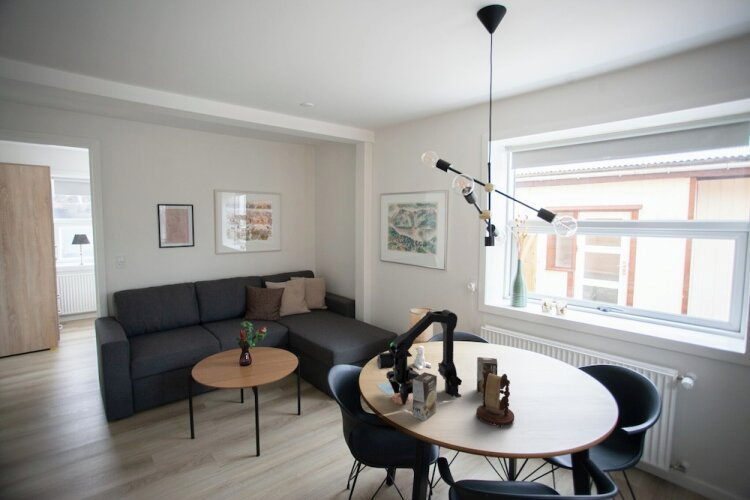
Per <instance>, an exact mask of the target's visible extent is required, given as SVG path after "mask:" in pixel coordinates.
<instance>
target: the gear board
mask: <svg viewBox="0 0 750 500" xmlns="http://www.w3.org/2000/svg"><path fill="white" fill-rule="evenodd" d="M376 386H378V387H379V389H380V390H381V391H382V392H383V394H385V395H386V396H393V395H394V394H395V393H394V391H393V389H392V386H391V384H390V382H389V381H388V382H382V383H376ZM400 386H401V384H400ZM399 390H400V389H399Z"/></svg>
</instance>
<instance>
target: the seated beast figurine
mask: <svg viewBox="0 0 750 500" xmlns="http://www.w3.org/2000/svg"><path fill="white" fill-rule="evenodd" d="M414 349H415V351H416V355H415V358H414V360H413V364H414V366H415V367H416V368H417V369H418V371H422V370H423V368H427V369H431V368H432V367H433V366H432V363H430V362H427V361H426V360H425V359H426V358H425V355H424V353H425V352H426V351H425V347H424V346H423V345H419V346H417V347H414Z"/></svg>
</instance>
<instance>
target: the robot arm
mask: <svg viewBox="0 0 750 500" xmlns="http://www.w3.org/2000/svg"><path fill="white" fill-rule="evenodd" d="M433 323H440V326H441V328H442V361H441V362H438V369H437V372H438V373H439V375H440V376H441V377H442V379H443V380H444V392H445V393H444V394H446V395H447V396H451V397H455V398H459V397H462V394H460V393H459V386H461V385H462V381H463V380H462V379H461V378H460V377H459V376H458V373H457V368H456V365H455V362H454V340H455V339H454V337H455V336H454V333H455V332H454V331H455V329H456V327H457V325H458V315H457V314H456V313H455V312H453V311H450V310H449V309H443V310H436V311H435V310H434V311H427V312H426V313H425V314H424V315H423V316H422V318H420V319H419V320H418V322H416V323H415V324H414V325H413V326H412V327H411V328H410V329H409V330H408V331H406V332H404V333H401V334H400V335H398V336H396V337H395V338H394V339H393V341H392V343H393V344H392V346H391V347H389V348H388V350H387V351H388V352H379V353H378V356H377V358H376V364H377V368H378V370H386V369H392V370H389V371H387V372H386V373H385V374H386V375H385V376H386V379H387V380H388V382H390V384H391V386H392V389H393V391H394V393H400V396H401V400H402V403H403V404H402V405H406V404H407V403H406V401H407V398H408V396H409V395H410V394H413V384H412V383H406V381H410V380H413V378H415V377H417V376H419V375H421V374H420V373H419V372H417V371H416V370H415V369H414V368H413V367H412V366H410V365H408V358H411V357H413V354H411V352H410V349H411V348H412V346H413V345H414V342H415V340H416V339H417V338H419V336H420V335H421V334H423V333H424V332H425V331H426V330H427V329H428V328H429V327H431V325H433ZM395 350H397V351H395ZM400 384H401V386H400ZM399 389H400V390H399ZM407 402H408V401H407Z"/></svg>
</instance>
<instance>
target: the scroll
mask: <svg viewBox="0 0 750 500" xmlns="http://www.w3.org/2000/svg"><path fill="white" fill-rule="evenodd" d="M483 376H484V377H483V378H484V381H483V382H484V383H483V385H482V387H483V389H484V391H483V393H484V394H483V396H482V404H480V405H479V406H477V407H476V416H477V419H478V420H480V421H482V422H484V423H487V424H489V425H493V426H498V427H499V429H502V428H503V426H508V425H510V424H513V422H514V421H515V414H514V412H513V411H512V410H511V409H510V403H509V401H510V400H509V397H510V395H511V392H510V384H511V382H510V380H509V379H508V375H507V374H506V373H503V374H502V376H499V375H498V374H497V375H494V374H492V370H491V369H488V370H487V371H486V372H485V373H483ZM504 389H505V390H504ZM501 394H503V396H502V397H501ZM500 398H501V399H500Z"/></svg>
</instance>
